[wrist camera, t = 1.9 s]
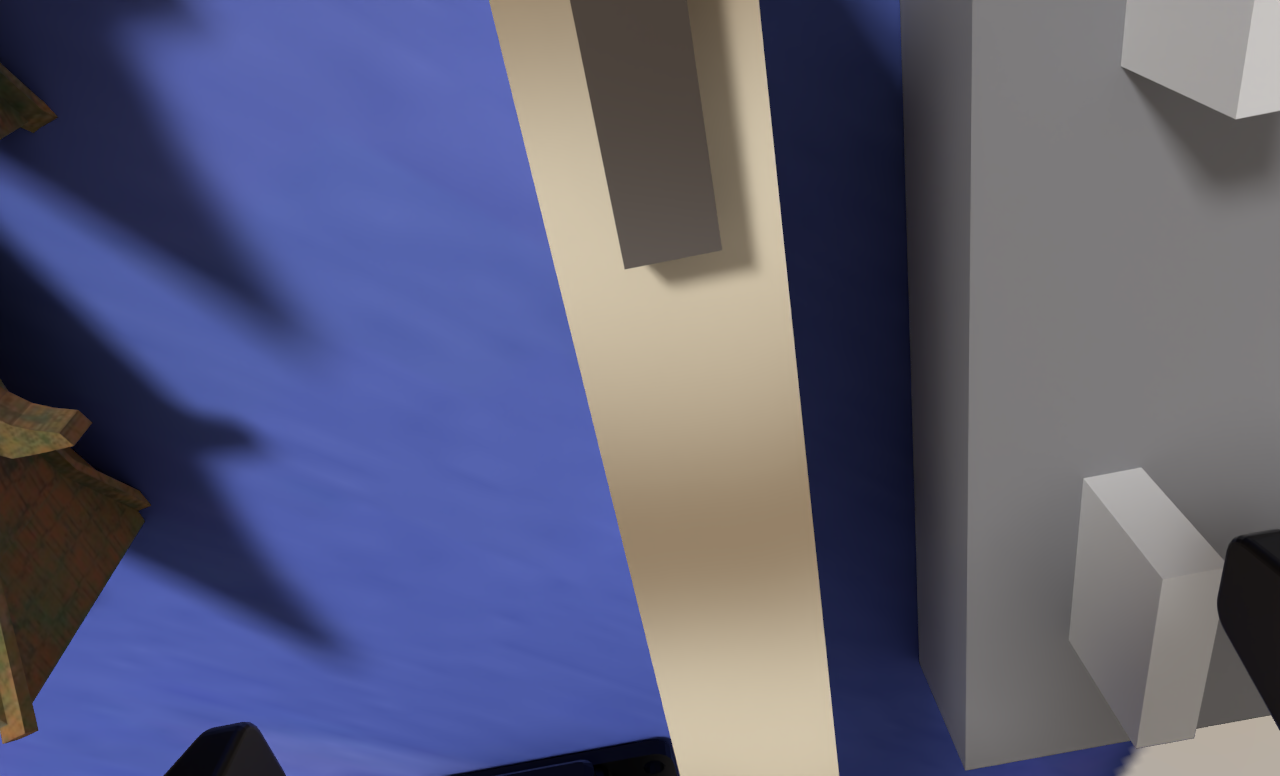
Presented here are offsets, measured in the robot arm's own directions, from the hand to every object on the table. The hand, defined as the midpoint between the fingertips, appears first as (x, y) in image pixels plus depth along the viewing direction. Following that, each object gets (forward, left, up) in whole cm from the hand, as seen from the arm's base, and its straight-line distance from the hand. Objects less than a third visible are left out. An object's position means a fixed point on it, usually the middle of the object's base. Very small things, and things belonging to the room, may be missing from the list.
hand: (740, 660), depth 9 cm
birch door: (0, 0, -10) cm, 10 cm away
